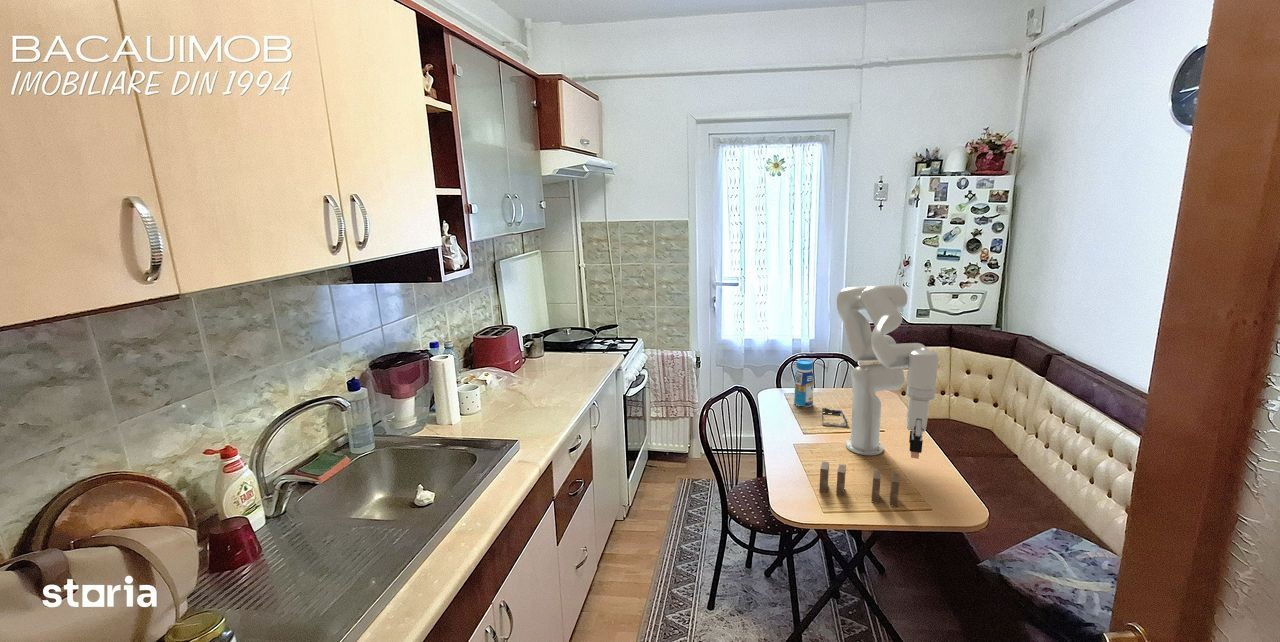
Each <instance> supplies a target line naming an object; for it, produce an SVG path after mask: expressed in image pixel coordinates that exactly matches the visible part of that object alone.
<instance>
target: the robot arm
mask: <svg viewBox="0 0 1280 642" xmlns="http://www.w3.org/2000/svg"><path fill="white" fill-rule="evenodd" d="M907 304H908V294H907V292H906V290H905V288H904V287H903V286H902V285H898V284H885V285H884V284H883V285H878V284H877V285H867V286H865V285H863V286H850V287H845V288H843V289H841V290H840V291H839V292H838V294H837V296H836V310H837V312H838V316H839V317H840V319H841V321H842V324H843V327H844V329H845V334H846V339H847V344H848V349H849V352H850V356H851V358H852V360H854V361H855V362H861V363H865V362H866V363H867V362H879V363H874V364H873V363H872V364H870V363H869V364H863V365H858V366H856V367H854V369H852V371H851V373H850V379H851V380H850V381H851V385H852V386H851V388H852V410H851V426H850V427H851V429H850V438H849V439H847V440H846V441H845V447H846V448H847V449H848V450H849V451H850V452H852V453H855V454H857V455H863V456H877V455H880V454H882V453H883V451H884V446H883V445H882V444H881V442H880V432H881V417H882V401H881V399H880V398H879V397H878V396H877V392H885V391H886V392H887V391H897V390H900V389H901V388H903V386H904V384H905V373H904V368H905V369H906V368H907V378H906V389H905V396H907V397H908V405H907V412H906V413H907V414H906V416H907V417H906V429H907V430H908V431H909V441H908V442H909V452H910V453H911V452H917V453H919V454H921V453H922V450H923V441H924V440H923V434H924V433H925V432H926V430H927V424H928V420H929V419H928V418H929V409H930V401H932V400H933V401H934V399H935V396H936V395H935V394H936V385H937V375H938V368H939V367H938V366H939V356H938V354H937V353H936V352H934V351H932V350H930V349H929V348H928V347H926V346H925V345H924V344H923V343H919V342H909V343H904V342H902V343H897V342H896V341H895V339H894V338H893V337H892V336H890V335H888V334H889V333H891V332H893V331H895V330H897V328H899V326H901V324H902V322H903V316H902V314H901V313H900V311H899V310H900V309H903V308H904V307H906V306H907ZM859 310H862V311H863V310H865V311H866V312H867V314H868V315H869V318H870V319H871V321H872V323H873V325H874V328H873V330H872V329H871V324H870V322H869V320H868V318H867V317H866V316H865V315H863V313H861V312H860V311H859ZM914 428H916V429H914ZM914 432H916V433H915V434H914Z"/></svg>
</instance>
